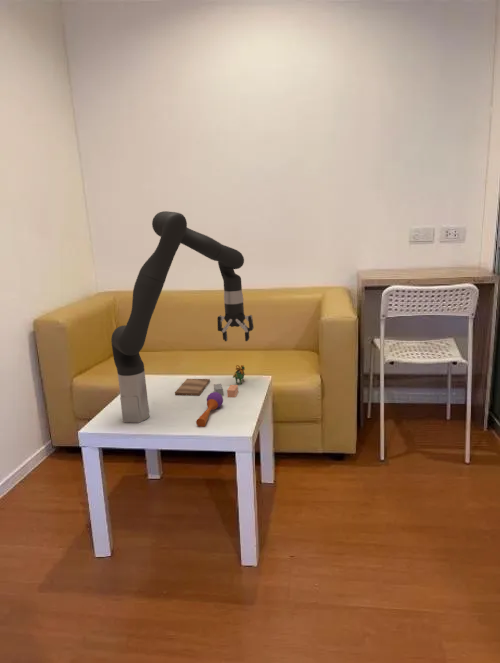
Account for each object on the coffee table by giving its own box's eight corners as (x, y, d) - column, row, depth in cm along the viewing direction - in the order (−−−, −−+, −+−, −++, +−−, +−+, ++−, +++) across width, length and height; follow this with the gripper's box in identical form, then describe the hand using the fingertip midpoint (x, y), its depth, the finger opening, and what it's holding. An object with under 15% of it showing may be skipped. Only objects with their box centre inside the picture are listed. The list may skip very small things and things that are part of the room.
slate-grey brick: (223, 395, 202) (222, 388, 201) (215, 396, 201) (215, 389, 200) (221, 390, 207) (221, 383, 207) (214, 391, 207) (213, 384, 206)
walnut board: (199, 395, 203) (199, 392, 202) (175, 395, 205) (174, 392, 204) (210, 381, 218) (209, 378, 218) (187, 381, 220) (186, 378, 220)
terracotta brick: (235, 397, 199) (234, 390, 198) (227, 397, 200) (227, 390, 199) (238, 392, 205) (237, 384, 204) (230, 392, 205) (230, 384, 205)
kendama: (190, 416, 174) (207, 390, 193) (195, 431, 176) (211, 405, 194) (206, 413, 172) (222, 388, 191) (211, 429, 174) (226, 402, 192)
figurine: (248, 379, 218) (247, 360, 216) (236, 389, 208) (235, 369, 206) (241, 378, 219) (240, 360, 217) (229, 388, 209) (228, 369, 207)
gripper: (213, 303, 203) (217, 343, 207) (249, 302, 200) (252, 343, 204) (218, 299, 210) (221, 338, 214) (253, 299, 207) (255, 338, 211)
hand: (236, 340), depth 209 cm, fingers open, 8 cm apart
